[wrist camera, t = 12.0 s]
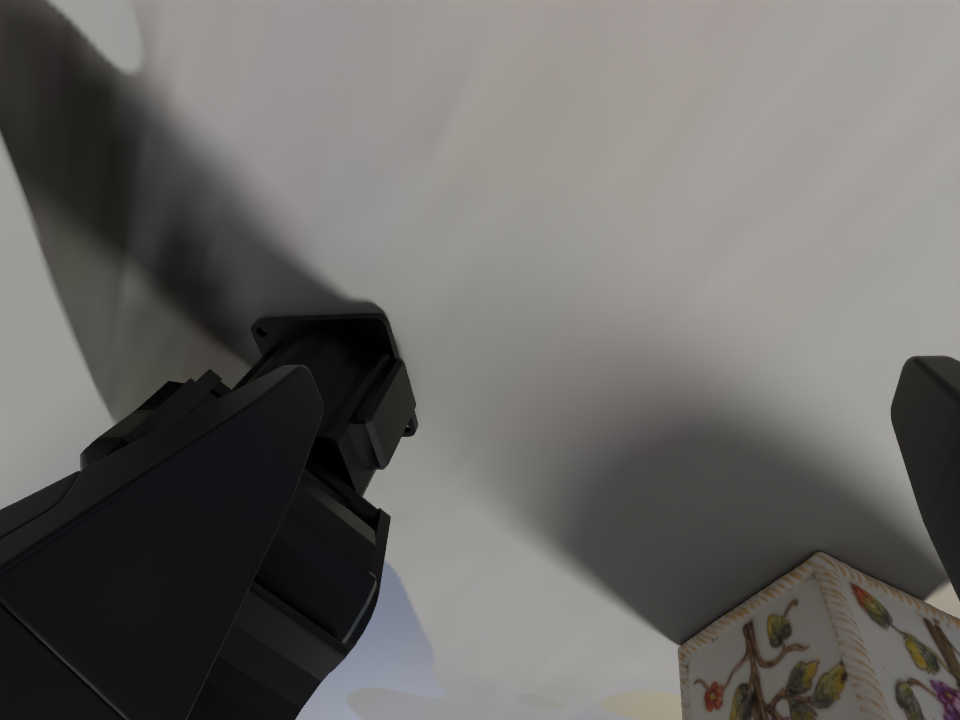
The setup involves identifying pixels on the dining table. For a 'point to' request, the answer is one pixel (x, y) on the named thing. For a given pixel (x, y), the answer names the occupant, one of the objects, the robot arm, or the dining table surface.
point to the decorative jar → (824, 653)
